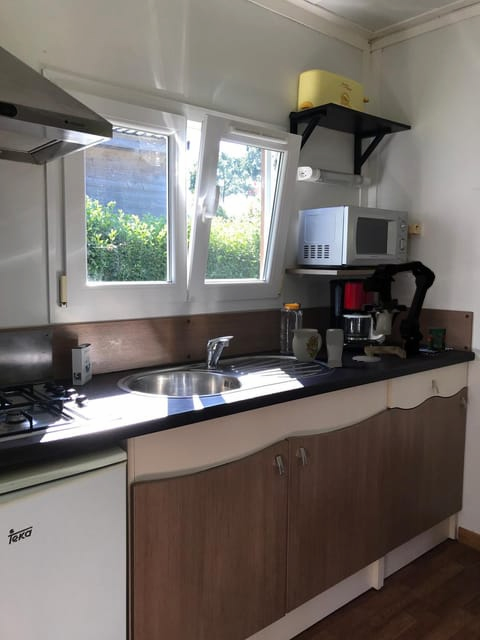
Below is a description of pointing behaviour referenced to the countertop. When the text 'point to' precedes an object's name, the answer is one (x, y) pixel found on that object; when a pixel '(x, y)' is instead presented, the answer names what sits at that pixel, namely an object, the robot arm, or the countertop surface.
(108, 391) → the countertop surface
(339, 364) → the beer glass
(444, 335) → the canned tomato
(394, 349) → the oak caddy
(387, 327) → the cream jug
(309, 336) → the pitcher
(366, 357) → the grey trivet
